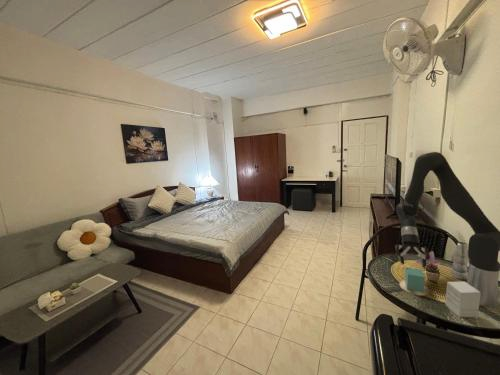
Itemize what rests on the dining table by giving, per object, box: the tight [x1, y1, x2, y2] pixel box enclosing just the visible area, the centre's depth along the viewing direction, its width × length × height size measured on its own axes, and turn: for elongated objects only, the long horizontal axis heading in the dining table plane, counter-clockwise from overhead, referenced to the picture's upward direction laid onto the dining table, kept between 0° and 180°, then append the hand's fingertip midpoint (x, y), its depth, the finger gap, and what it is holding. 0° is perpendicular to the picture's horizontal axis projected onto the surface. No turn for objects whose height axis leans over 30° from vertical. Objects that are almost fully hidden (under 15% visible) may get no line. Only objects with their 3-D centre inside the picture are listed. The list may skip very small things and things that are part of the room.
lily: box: [414, 250, 442, 271], centre depth 122 cm, size 12×12×10 cm
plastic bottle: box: [450, 241, 469, 281], centre depth 110 cm, size 6×7×20 cm
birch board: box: [399, 279, 430, 296], centre depth 107 cm, size 12×12×1 cm
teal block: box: [404, 267, 426, 293], centre depth 106 cm, size 7×7×8 cm
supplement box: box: [445, 280, 481, 320], centre depth 90 cm, size 7×7×13 cm
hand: (413, 265), depth 108 cm, fingers open, 8 cm apart
